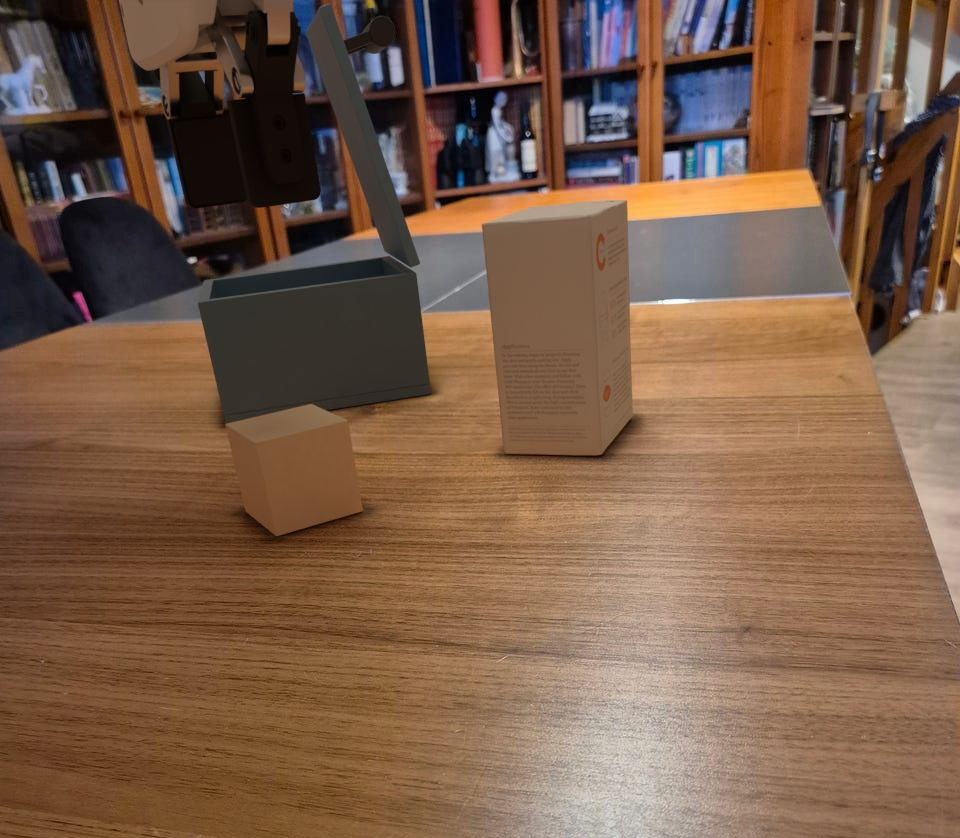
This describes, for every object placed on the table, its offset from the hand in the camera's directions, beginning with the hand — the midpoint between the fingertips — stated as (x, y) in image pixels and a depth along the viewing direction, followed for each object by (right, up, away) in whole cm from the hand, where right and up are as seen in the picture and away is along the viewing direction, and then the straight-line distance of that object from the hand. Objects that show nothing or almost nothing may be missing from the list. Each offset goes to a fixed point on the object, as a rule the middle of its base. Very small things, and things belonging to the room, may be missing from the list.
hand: (249, 204), depth 44 cm
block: (+1, -14, +7) cm, 15 cm away
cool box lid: (+2, +16, +25) cm, 30 cm away
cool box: (-2, 0, +32) cm, 32 cm away
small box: (+17, -8, +15) cm, 23 cm away
